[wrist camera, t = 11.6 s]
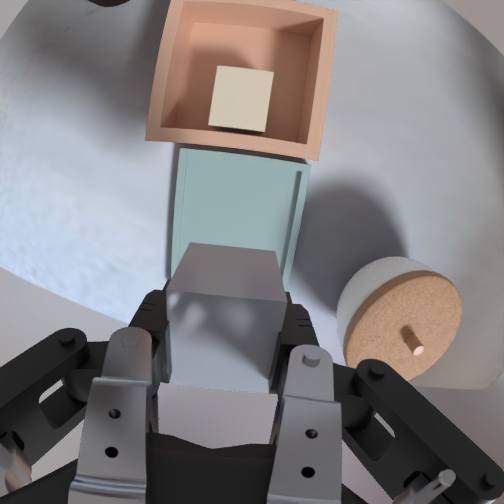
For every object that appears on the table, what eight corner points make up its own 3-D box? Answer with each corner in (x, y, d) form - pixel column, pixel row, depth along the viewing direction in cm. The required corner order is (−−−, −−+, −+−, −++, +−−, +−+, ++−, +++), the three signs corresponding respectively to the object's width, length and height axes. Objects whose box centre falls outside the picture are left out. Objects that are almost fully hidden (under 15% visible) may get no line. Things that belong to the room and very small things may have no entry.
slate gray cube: (275, 251, 12) (287, 301, 8) (262, 329, 14) (267, 393, 10) (189, 242, 12) (166, 289, 8) (187, 322, 13) (171, 383, 10)
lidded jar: (302, 281, 26) (326, 347, 18) (399, 217, 24) (461, 255, 16) (349, 352, 30) (377, 417, 21) (430, 299, 28) (478, 349, 19)
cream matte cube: (268, 84, 20) (273, 72, 16) (261, 133, 21) (264, 131, 17) (222, 78, 19) (217, 65, 16) (214, 128, 21) (208, 124, 17)
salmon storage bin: (320, 33, 19) (338, 11, 14) (303, 157, 22) (318, 161, 18) (186, 17, 18) (173, -8, 13) (165, 140, 22) (145, 140, 17)
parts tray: (308, 164, 23) (311, 165, 22) (282, 298, 27) (284, 303, 26) (182, 148, 22) (179, 148, 21) (173, 285, 26) (170, 290, 25)
